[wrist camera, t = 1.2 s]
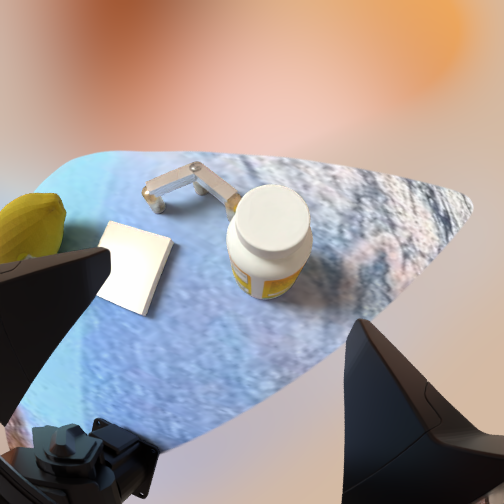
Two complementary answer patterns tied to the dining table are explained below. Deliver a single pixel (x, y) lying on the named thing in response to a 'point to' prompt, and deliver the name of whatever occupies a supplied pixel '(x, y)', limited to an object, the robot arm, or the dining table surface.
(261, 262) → the supplement bottle
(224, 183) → the bent steel bracket
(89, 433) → the robot arm
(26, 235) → the lemon
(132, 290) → the cream coaster
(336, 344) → the dining table surface
